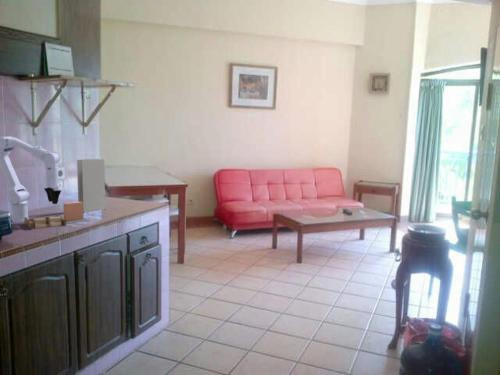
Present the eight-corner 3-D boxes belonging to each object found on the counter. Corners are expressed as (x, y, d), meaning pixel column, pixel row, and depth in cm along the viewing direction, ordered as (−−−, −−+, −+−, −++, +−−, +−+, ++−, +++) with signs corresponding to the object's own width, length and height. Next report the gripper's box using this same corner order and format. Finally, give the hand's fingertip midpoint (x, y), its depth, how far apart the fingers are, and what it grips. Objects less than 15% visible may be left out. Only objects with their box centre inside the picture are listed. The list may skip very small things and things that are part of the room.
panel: (64, 219, 238) (63, 203, 237) (81, 218, 244) (81, 201, 242) (65, 221, 236) (65, 204, 235) (83, 219, 241) (82, 202, 240)
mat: (58, 219, 242) (58, 218, 242) (81, 216, 249) (81, 215, 249) (65, 224, 231) (65, 223, 231) (89, 221, 238) (89, 220, 238)
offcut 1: (33, 227, 222) (33, 219, 221) (44, 225, 225) (44, 217, 224) (35, 228, 220) (34, 220, 219) (46, 226, 223) (45, 219, 222)
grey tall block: (100, 208, 275) (99, 158, 270) (105, 209, 271) (104, 159, 267) (78, 211, 264) (76, 159, 259) (83, 212, 260) (82, 160, 256)
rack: (24, 224, 229) (24, 217, 229) (57, 220, 239) (57, 214, 238) (31, 230, 217) (31, 223, 217) (66, 226, 227) (65, 219, 227)
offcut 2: (48, 225, 226) (48, 217, 226) (59, 224, 229) (59, 216, 229) (50, 226, 224) (50, 218, 223) (61, 225, 227) (60, 217, 226)
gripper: (64, 177, 228) (65, 204, 230) (56, 174, 240) (57, 199, 242) (49, 178, 224) (50, 205, 226) (42, 175, 236) (43, 200, 238)
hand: (53, 202), depth 234 cm, fingers open, 7 cm apart
